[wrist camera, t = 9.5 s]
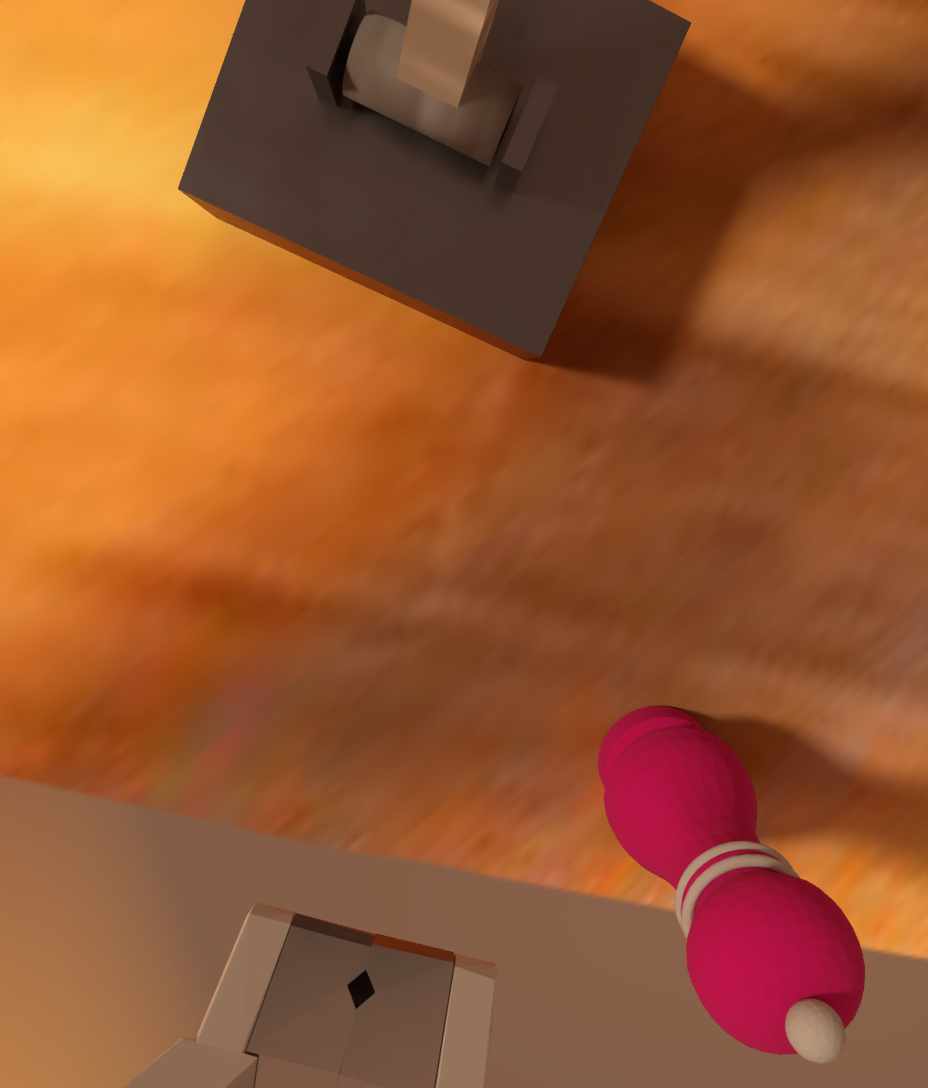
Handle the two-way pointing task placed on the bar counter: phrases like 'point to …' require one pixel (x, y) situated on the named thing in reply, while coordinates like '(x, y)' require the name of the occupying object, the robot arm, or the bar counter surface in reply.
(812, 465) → the bar counter surface
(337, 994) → the robot arm
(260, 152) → the base
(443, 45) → the lever
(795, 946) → the pepper mill
